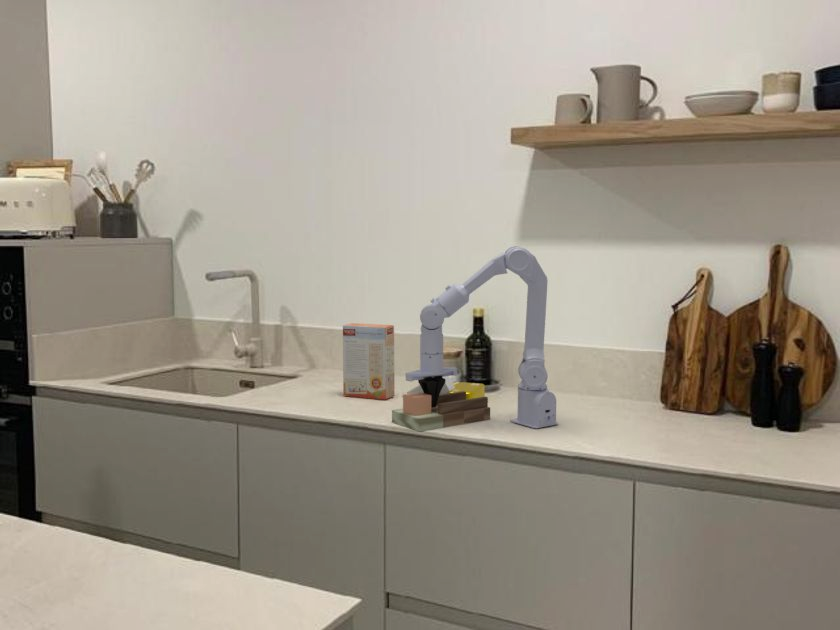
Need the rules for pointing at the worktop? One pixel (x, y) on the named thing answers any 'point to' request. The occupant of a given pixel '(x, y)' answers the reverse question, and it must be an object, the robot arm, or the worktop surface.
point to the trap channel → (446, 412)
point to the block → (417, 403)
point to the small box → (445, 389)
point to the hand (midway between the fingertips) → (431, 406)
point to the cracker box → (368, 361)
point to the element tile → (470, 389)
